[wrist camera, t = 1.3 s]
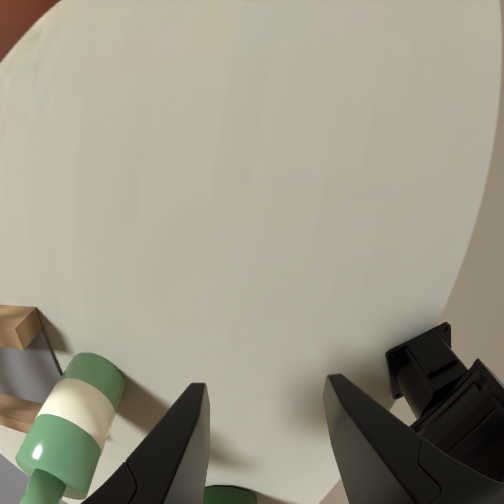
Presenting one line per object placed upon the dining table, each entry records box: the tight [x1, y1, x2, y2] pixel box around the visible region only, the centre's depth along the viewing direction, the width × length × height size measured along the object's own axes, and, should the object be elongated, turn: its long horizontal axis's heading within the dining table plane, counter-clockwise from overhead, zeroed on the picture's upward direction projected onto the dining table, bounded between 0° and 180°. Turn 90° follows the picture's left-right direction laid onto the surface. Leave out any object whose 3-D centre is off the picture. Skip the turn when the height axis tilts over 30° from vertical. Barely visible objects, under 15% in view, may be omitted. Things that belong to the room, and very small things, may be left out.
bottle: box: [15, 353, 125, 504], centre depth 16 cm, size 6×6×17 cm
